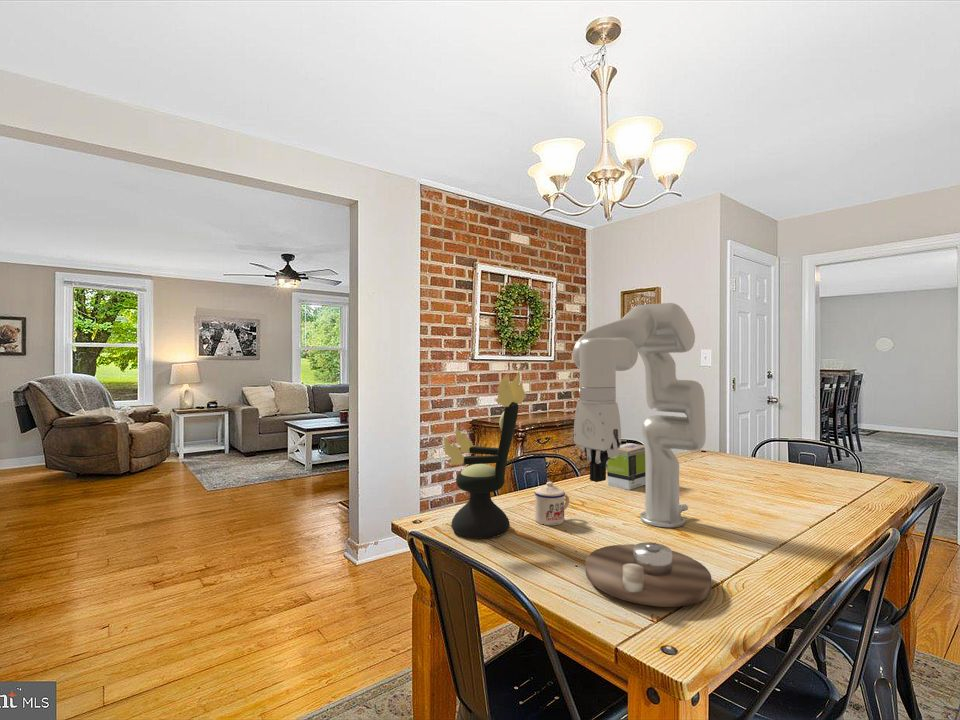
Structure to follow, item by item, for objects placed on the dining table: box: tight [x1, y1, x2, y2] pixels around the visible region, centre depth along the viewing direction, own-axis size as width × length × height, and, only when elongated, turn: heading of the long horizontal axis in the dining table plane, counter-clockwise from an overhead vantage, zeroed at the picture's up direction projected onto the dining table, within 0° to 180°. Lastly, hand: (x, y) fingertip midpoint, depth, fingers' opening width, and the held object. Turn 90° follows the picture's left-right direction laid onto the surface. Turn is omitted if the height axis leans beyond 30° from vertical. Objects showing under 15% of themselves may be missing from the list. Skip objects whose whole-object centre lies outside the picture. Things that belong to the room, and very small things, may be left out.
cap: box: [634, 541, 673, 576], centre depth 107 cm, size 8×8×5 cm
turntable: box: [585, 543, 712, 608], centre depth 107 cm, size 26×26×6 cm
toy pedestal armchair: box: [443, 372, 527, 539], centre depth 140 cm, size 19×22×45 cm
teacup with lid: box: [534, 481, 570, 526], centre depth 148 cm, size 12×9×12 cm
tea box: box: [606, 442, 645, 491], centre depth 188 cm, size 15×10×15 cm
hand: (597, 480), depth 105 cm, fingers closed
